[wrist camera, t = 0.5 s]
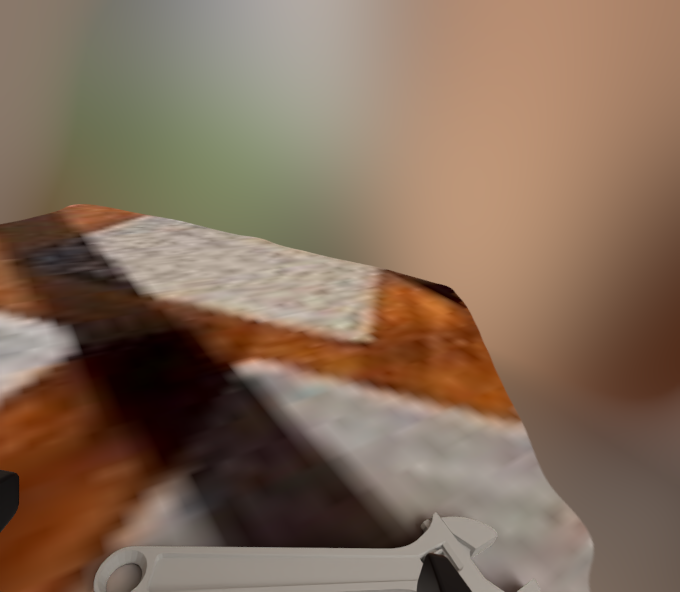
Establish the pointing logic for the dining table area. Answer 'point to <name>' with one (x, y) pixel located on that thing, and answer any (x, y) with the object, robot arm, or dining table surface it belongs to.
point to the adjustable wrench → (309, 564)
